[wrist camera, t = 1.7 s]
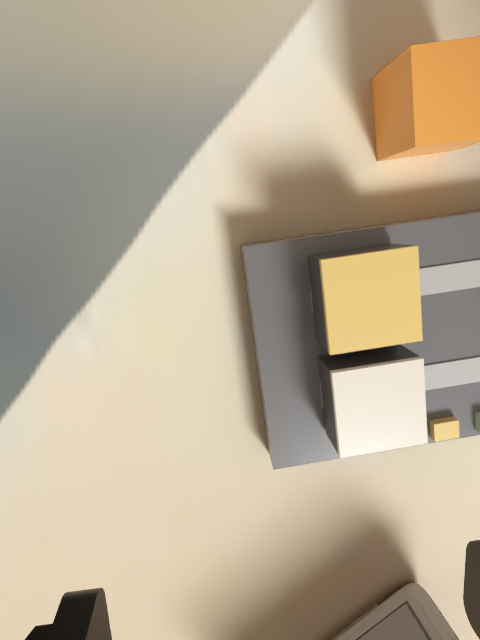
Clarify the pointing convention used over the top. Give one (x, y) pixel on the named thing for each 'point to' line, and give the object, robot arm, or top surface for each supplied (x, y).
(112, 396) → the top surface
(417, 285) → the block
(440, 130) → the orange rectangular block
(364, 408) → the block
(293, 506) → the top surface
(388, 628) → the digital clock
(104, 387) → the top surface
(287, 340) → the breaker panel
